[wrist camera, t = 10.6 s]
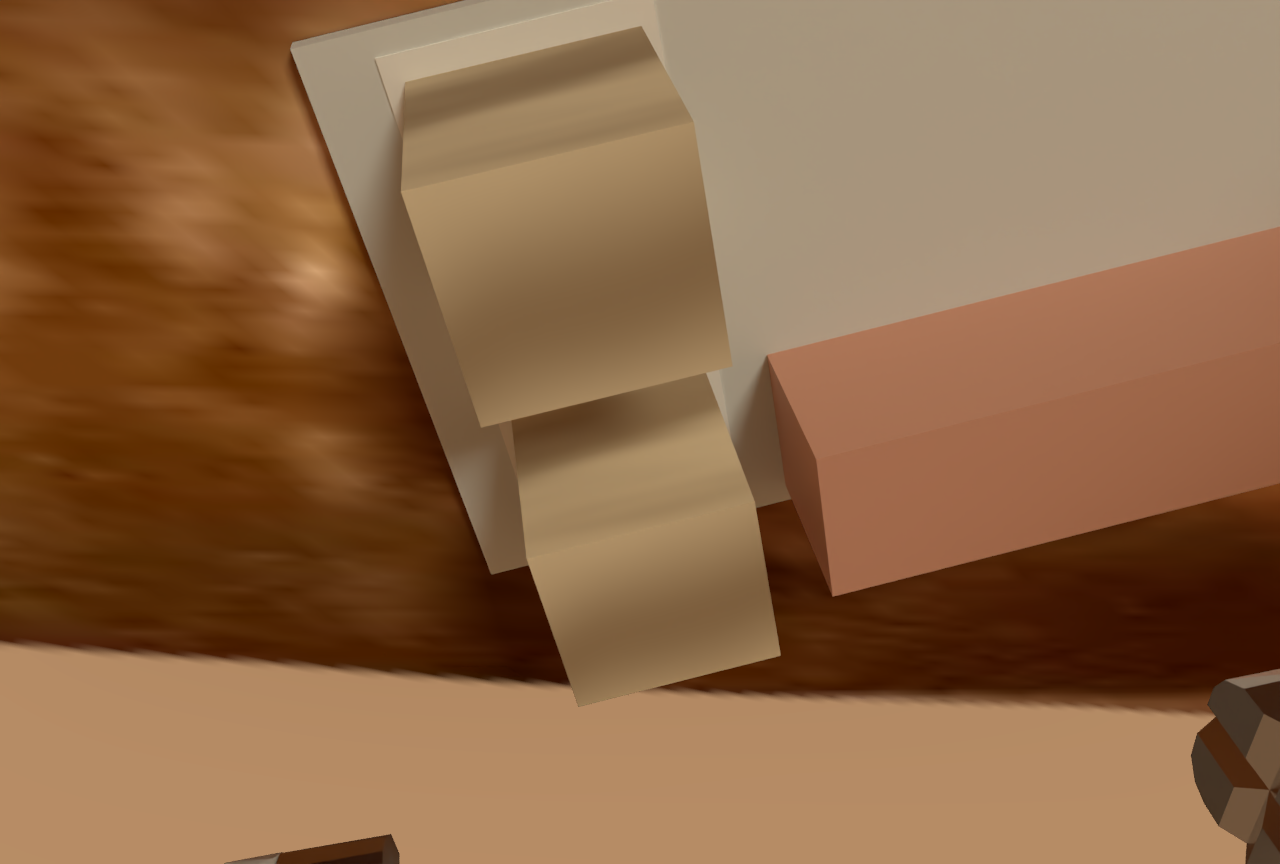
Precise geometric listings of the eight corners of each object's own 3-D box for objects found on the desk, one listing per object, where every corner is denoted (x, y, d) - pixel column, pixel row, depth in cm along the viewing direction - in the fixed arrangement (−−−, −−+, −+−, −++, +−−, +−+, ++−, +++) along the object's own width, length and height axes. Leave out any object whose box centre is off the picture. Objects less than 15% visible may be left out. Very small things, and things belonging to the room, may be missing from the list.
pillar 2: (510, 410, 25) (526, 558, 21) (702, 363, 25) (754, 501, 21) (556, 551, 28) (578, 706, 24) (729, 508, 28) (780, 655, 24)
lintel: (766, 354, 25) (816, 459, 22) (1291, 223, 26) (1414, 308, 22) (785, 485, 28) (832, 596, 25) (1265, 364, 28) (1373, 459, 25)
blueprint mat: (292, 42, 20) (289, 50, 20) (1372, -223, 20) (1388, -220, 20) (490, 564, 28) (491, 576, 28) (1261, 370, 29) (1272, 379, 28)
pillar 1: (405, 81, 20) (400, 191, 16) (641, 25, 21) (693, 121, 17) (471, 290, 23) (480, 427, 19) (679, 239, 23) (732, 366, 19)
